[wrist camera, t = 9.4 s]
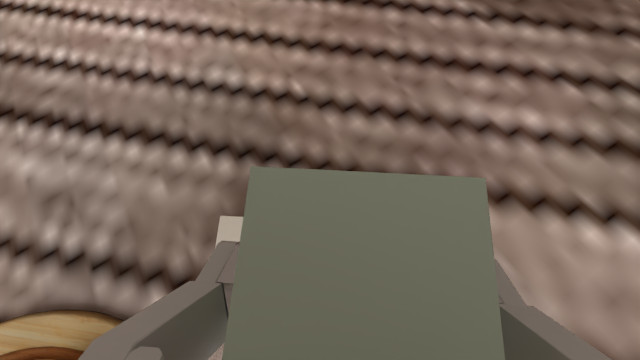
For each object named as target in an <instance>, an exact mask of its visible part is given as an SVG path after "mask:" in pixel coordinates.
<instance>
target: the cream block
mask: <svg viewBox="0 0 640 360" xmlns="http://www.w3.org/2000/svg"><path fill="white" fill-rule="evenodd" d="M242 223H243V217H236V216H220V221H219V227H218V234H217V240H216V246H217V244H218V243H219V242H221V241H222V240H223V241H235V242H240V236H241V229H242ZM216 246H215V248H216Z"/></svg>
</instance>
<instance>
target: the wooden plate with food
mask: <svg viewBox="0 0 640 360" xmlns="http://www.w3.org/2000/svg"><path fill="white" fill-rule="evenodd" d="M122 322H124V321H123V320H120V319H117V318H115V317H112V316H109V315H106V314H103V313H99V312H93V311H80V310H56V311H46V312H39V313H34V314H29V315H24V316H20V317H16V318H13V319H10V320H7V321H5V322H2V323H0V360H78V359H79V358H80V356H81V355H82V354H83V353H84V351H85V350H86V349H87V348H88V346H89V345H90V344H91V343H92V342H93V340H95V339H96V338H98V337H100V336H101V335H103V334H104V333H106V332H108V331H109V330H111V329H113V328H114V327H116V326H117V325H119V324H121V323H122Z"/></svg>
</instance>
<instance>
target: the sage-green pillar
mask: <svg viewBox="0 0 640 360" xmlns="http://www.w3.org/2000/svg"><path fill="white" fill-rule="evenodd" d="M222 360H505V353H504V344H503V335H502V326H501V316H500V307H499V298H498V289H497V280H496V271H495V261H494V252H493V243H492V234H491V225H490V216H489V207H488V197H487V188H486V179H485V178H476V177H456V176H436V175H416V174H396V173H376V172H355V171H335V170H315V169H295V168H275V167H255V166H251V169H250V176H249V182H248V189H247V196H246V203H245V209H244V216H243V223H242V229H241V236H240V243H239V249H238V256H237V263H236V269H235V276H234V283H233V290H232V296H231V303H230V310H229V316H228V323H227V330H226V336H225V343H224V350H223V357H222Z"/></svg>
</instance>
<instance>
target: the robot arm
mask: <svg viewBox="0 0 640 360" xmlns="http://www.w3.org/2000/svg"><path fill="white" fill-rule="evenodd" d="M239 243H240V242H235V241H223V240H222V241H221V242H219V243H218V244H217V246H216V248H215V249H214V251H213V252H212V254H211V256H210V257H209V259H208V261H207V262H206V264H205V266H204V267H203V269H202V271H201V272H200V274H199V276H198V277H197V279H196V281H189V282H187V283H186V284H184V285H182V286H181V287H179V288H178V289H176V290H174V291H173V292H171V293H169V294H168V295H166V296H165V297H163V298H161V299H160V300H158V301H156V302H155V303H153V304H152V305H150V306H148V307H147V308H145V309H143V310H142V311H140V312H139V313H137V314H135V315H134V316H132V317H130V318H129V319H127V320H126V321H124V322H122V323H121V324H119V325H117V326H116V327H114V328H113V329H111V330H109V331H108V332H106V333H104V334H103V335H101V336H100V337H98V338H96V339H95V340H93V342H92V343H91V344H90V345H89V346H88V348H87V349H86V350H85V351H84V353H83V354H82V355H81V356H80V358H79V359H78V360H207V359H208V358H209V357H210V356H211V355H212V354H213V353H214V352H215V351H216V350H217V349H218V348H219V347H220V346H221V345H222V344H223V343H224V342H225V336H226V330H227V323H228V316H229V310H230V303H231V296H232V290H233V283H234V276H235V269H236V263H237V256H238V249H239ZM494 261H495V271H496V280H497V289H498V298H499V307H500V316H501V326H502V335H503V344H504V353H505V360H612V359H610V358H609V357H607V356H606V355H604V354H603V353H601V352H600V351H598V350H597V349H595V348H594V347H592V346H591V345H590V344H588V343H587V342H585V341H584V340H582V339H581V338H579V337H578V336H576V335H575V334H573V333H572V332H570V331H569V330H567V329H566V328H565V327H563V326H562V325H560V324H559V323H557V322H556V321H554V320H553V319H551V318H550V317H548V316H547V315H545V314H544V313H542V312H541V311H539V310H538V309H537V308H535V307H534V306H527V305H526V304H525V302H524V301H523V299H522V298H521V296H520V295H519V293H518V291H517V290H516V288H515V287H514V285H513V284H512V282H511V281H510V279H509V278H508V276H507V275H506V273H505V272H504V270H503V269H502V267H501V266H500V264H499V263H498V261H497V260H495V259H494Z"/></svg>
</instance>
